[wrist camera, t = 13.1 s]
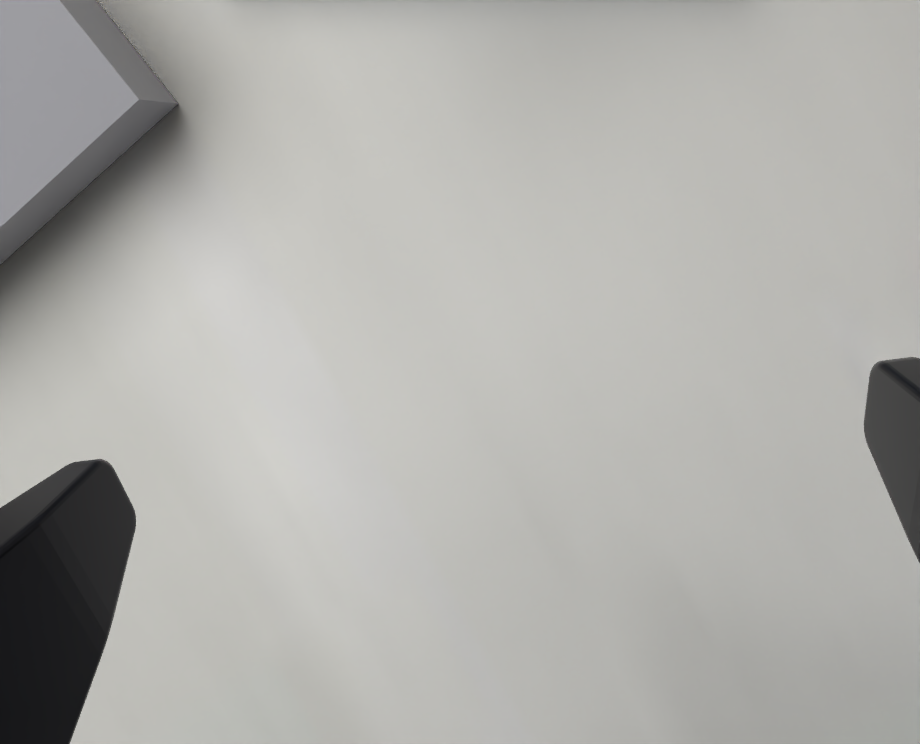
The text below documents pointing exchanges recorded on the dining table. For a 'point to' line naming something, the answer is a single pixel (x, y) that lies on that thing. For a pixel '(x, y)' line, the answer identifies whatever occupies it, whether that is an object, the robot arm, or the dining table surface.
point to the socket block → (65, 107)
